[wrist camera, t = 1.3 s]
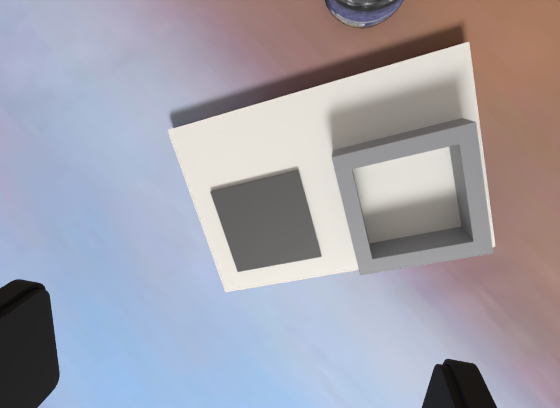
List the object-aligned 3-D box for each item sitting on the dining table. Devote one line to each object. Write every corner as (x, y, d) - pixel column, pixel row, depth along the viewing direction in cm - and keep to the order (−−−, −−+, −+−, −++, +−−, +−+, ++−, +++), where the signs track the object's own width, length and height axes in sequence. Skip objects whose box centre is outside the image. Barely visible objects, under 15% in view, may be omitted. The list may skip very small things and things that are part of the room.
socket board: (463, 43, 27) (484, 36, 23) (489, 240, 31) (511, 263, 27) (173, 128, 32) (150, 134, 28) (229, 285, 37) (215, 310, 33)
